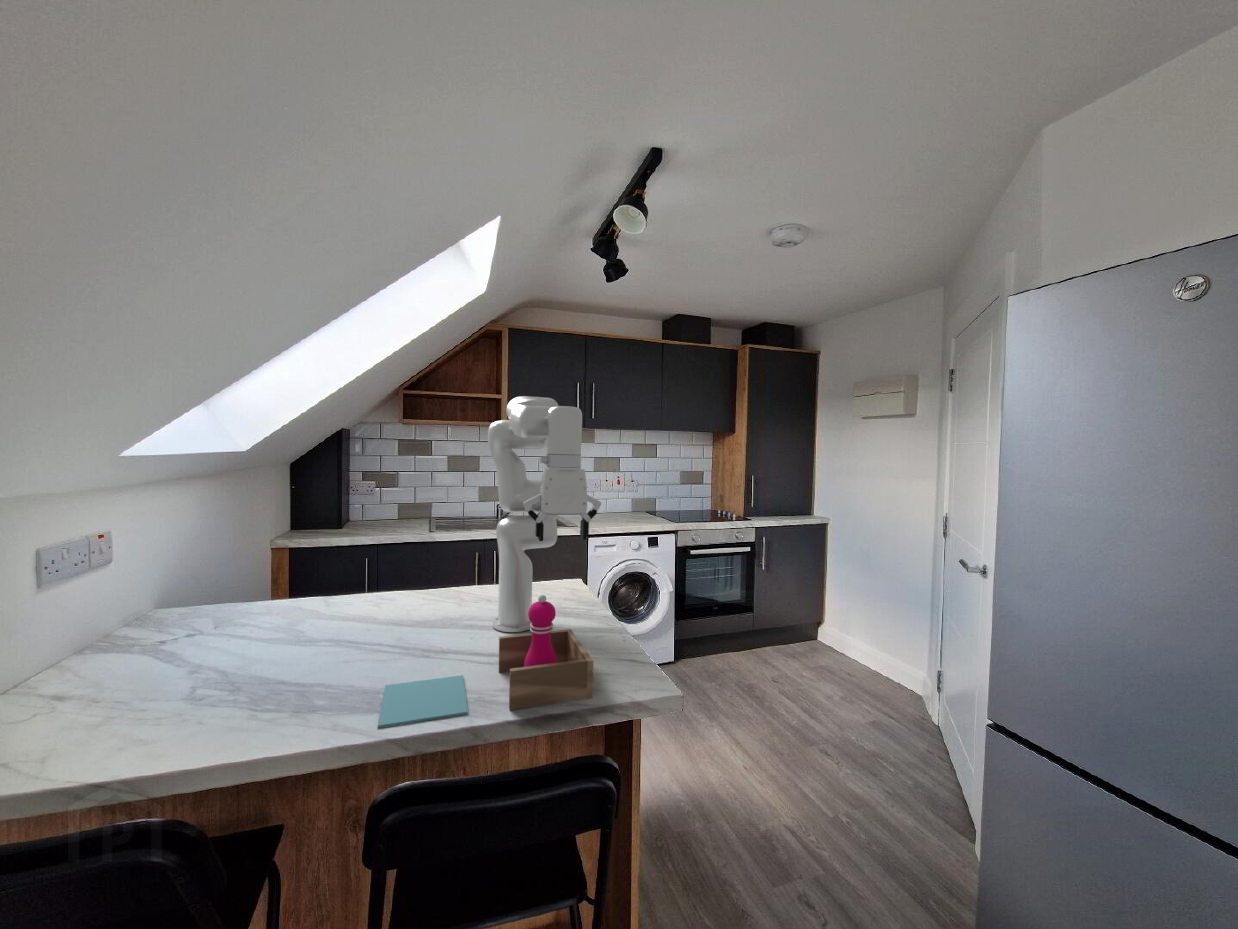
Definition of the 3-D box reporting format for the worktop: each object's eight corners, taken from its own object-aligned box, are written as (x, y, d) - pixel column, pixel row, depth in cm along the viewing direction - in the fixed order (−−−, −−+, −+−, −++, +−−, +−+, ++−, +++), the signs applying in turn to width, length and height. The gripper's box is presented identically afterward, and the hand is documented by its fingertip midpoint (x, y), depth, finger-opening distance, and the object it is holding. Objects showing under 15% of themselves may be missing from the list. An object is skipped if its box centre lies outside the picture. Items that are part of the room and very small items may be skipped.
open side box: (498, 670, 117) (499, 636, 117) (570, 661, 123) (570, 629, 123) (509, 710, 100) (510, 671, 100) (592, 697, 106) (593, 660, 106)
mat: (385, 687, 108) (385, 685, 108) (463, 677, 114) (463, 675, 114) (377, 728, 93) (377, 725, 93) (467, 714, 99) (467, 711, 99)
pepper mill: (562, 679, 114) (564, 592, 113) (547, 694, 107) (549, 601, 106) (533, 673, 116) (535, 588, 115) (517, 688, 109) (519, 597, 108)
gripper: (526, 463, 105) (525, 544, 106) (606, 464, 110) (604, 541, 111) (522, 461, 112) (520, 537, 113) (597, 462, 117) (595, 535, 118)
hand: (562, 539), depth 112 cm, fingers open, 9 cm apart
